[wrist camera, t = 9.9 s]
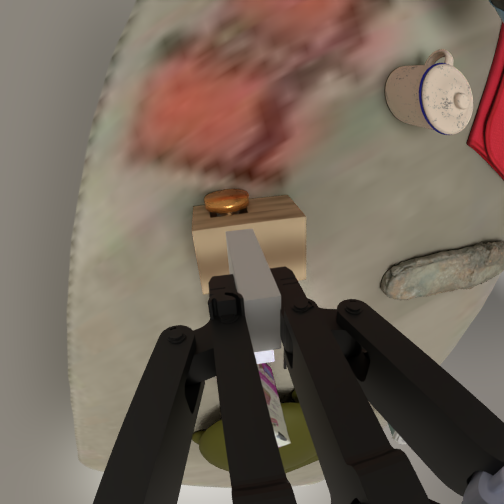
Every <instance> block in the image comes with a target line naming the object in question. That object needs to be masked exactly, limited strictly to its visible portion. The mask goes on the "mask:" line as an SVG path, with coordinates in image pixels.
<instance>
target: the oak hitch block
mask: <svg viewBox="0 0 504 504" xmlns="http://www.w3.org/2000/svg"><path fill="white" fill-rule="evenodd" d="M244 229H253V230H254V233H255V235H256V238H257V240H258V242H259V245H260V247H261V249H262V252H263V254H264V256H265V259H266V261H267V263H268V266H269V268H276V267H284V266H286V267H287V268H289V269H290V270H292V271H293V273H294V275H295V277H296V278H297V280H298V281H299V280H305V279H306V216H305V215H304V214H303V212H302V211H301V210H300V209H299V208H298V206H297V205H296V204H295V203H294V202H293V201H292V199H291V198H290V197H289V196H288V195H282V196H273V197H264V198H255V199H249V205H248V206H247V207H246V208H244V209H242V210H240V214H236V215H228V216H221V217H217V214H216V213H212V212H209V211H207V210H206V208H205V205H200V206H193V220H192V235H193V241H194V247H195V253H196V258H197V264H198V269H199V275H200V280H201V286H202V291H203V294H209V285H208V282H209V281H210V279H211V278H212V276H220V275H228V274H230V272H229V262H228V253H227V243H226V232H227V231H235V230H244Z"/></svg>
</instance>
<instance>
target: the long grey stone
mask: <svg viewBox="0 0 504 504" xmlns="http://www.w3.org/2000/svg"><path fill="white" fill-rule="evenodd" d="M503 270H504V242H503V241H502V242H493V243H490V242H488V243H487V244H485V243H482V242H480V243H479V244H478V245H477V244H475V245H474V246H471V247H464V248H462V249H459V250H450V251H449V252H448V251H441V252H439V253H436V254H431V255H429V256H425V257H419V258H414V259H411V260H407V261H405V262H401V263H400V264H399V265H396V266H393V267H392V268H391V269H389V270H388V271H387V272H386V273H385V275H384V277H383V279H382V282H381V289H382V290H383V292H384V293H385V294H386V295H387V296H388V297H389V298H393V299H399V300H408V299H412V298H416V297H422V296H430V295H435V294H437V293H442V292H448V291H454V290H457V289H471V288H473V287H474V286H476V285H478V284H482V283H484V282H487V281H488V280H489V279H492V278H493V277H495V276H496V275H498V274H500V273H501V272H502V271H503Z"/></svg>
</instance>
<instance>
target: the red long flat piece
mask: <svg viewBox="0 0 504 504" xmlns="http://www.w3.org/2000/svg"><path fill="white" fill-rule="evenodd" d="M467 145H469V146H470V147H471V148H473V149H474V150H475V151H476V152H477V153H478V154H479V155H480V156H481V157H482V158H484V159H485V160H486V161H487V163H488V164H489V165H490V166H491V167H492V168H493V169H494V170H495V171H496V172H497V173H498V174H499V175H500V176H501V178H502V179H503V180H504V23H503V22H502V26H501V31H500V36H499V40H498V44H497V48H496V52H495V55H494V59H493V63H492V66H491V69H490V73H489V76H488V80H487V84H486V87H485V90H484V93H483V96H482V99H481V102H480V105H479V108H478V112H477V115H476V118H475V121H474V124H473V127H472V129H471V132H470V135H469V138H468V141H467Z"/></svg>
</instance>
